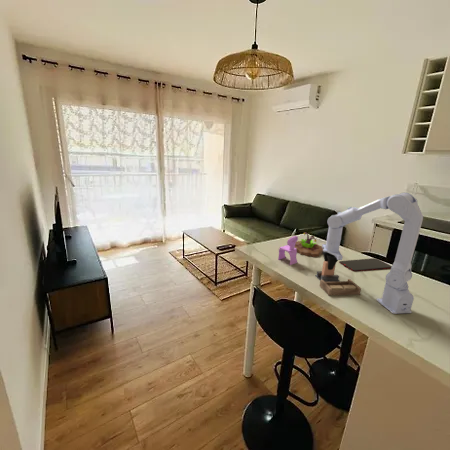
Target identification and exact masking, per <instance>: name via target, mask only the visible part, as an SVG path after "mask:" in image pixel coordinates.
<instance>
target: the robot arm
mask: <svg viewBox="0 0 450 450" xmlns="http://www.w3.org/2000/svg"><path fill="white" fill-rule="evenodd" d="M380 209H383V210H389V211H391V212H393V213H394V214H397V215H398V216H399V218H401V219H402V220H403V221H404V223H403V227H402V230H401V235H400V240H399V242H398V246H397V250H396V254H395V258H394V262H393V263H392V265H391V266H392V267H391V269H389V272H387V274H385V285H384V287H383V292H382V296H381V298H376V299H375V300H376V301H377V302H378V303H379V304H380V305H382V306H383V307H384V308H385V309H387V311H389V312H390V313H391V314H392V315H394V314H397V315H398V314H412V313H413V312H412V310H411V309H412V306H413V304H414V303H413V302H414V299H415V298H414V295H413V294H412V292H410V290H409V283H408V282H409V281H411V279H412V278H413V272H412V266H413V265H412V260H413V257H414V253H415V249H416V246H417V242H418V238H419V236H420V235H419V234H420V231H421V229H422V228H421V227H422V223H423V220H424V215H423V213H422V210H421V208H420V205H419V203H418V200H417V198H415V196H413V195H412V194H411V193H409V192H401V193H396V194H395V193H394V194H392V195H388V196H386V197H385V196H384V197H382V198H378V199H376V200H374V201H371V202H370V203H367V204H365V205H363V206H360V207H356V206H349V207H347V209H346V210H342V211H338V212H337V214H332V215H331V216H330V217H328V218H327V225H328V230H327V234H326V235H327V236H326V242H325V243H322V244H321V246H322V248H323V251H324V252H322V254H321V255H323V262H324V261H328V270H333V268H334V266H335V267H336V265H337V263H338V262H339V261H343V257H344V256H343V254H342V253H341V252H340V246H341V245H340V244H341V240H342V235H343V229H344V228H343V227H345V226H347V225H349V224H351V223H355V222H357V221H360V220H361V218H362V216H363V215H366V214H369V213H372V212H374V211H377V210H380ZM335 264H336V265H335Z"/></svg>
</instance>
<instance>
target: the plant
mask: <svg viewBox="0 0 450 450" xmlns="http://www.w3.org/2000/svg"><path fill="white" fill-rule="evenodd" d="M303 235H304V236H305V235H306V236H307V237H306V238H305V239H304V238H301V239H300V240H297V242H296V244H295V248H296V249H297V254H298V255H299V254H300V256H301V255H302V256H304V257H312V258H319V257H320V256H321V255H323V254H322V252H324V251H323V248H322V245H319V244H318V243H317V238H315V236H314V235H310V236H309V233H307V232H303ZM313 239H314V240H313Z"/></svg>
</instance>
